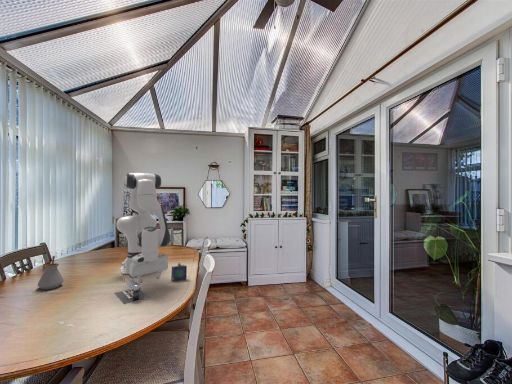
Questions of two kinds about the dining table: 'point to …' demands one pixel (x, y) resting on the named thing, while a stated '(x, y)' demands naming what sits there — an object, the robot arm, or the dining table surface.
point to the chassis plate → (127, 300)
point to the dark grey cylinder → (136, 295)
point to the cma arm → (131, 283)
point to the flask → (179, 272)
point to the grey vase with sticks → (50, 277)
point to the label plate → (127, 292)
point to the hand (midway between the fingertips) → (149, 280)
